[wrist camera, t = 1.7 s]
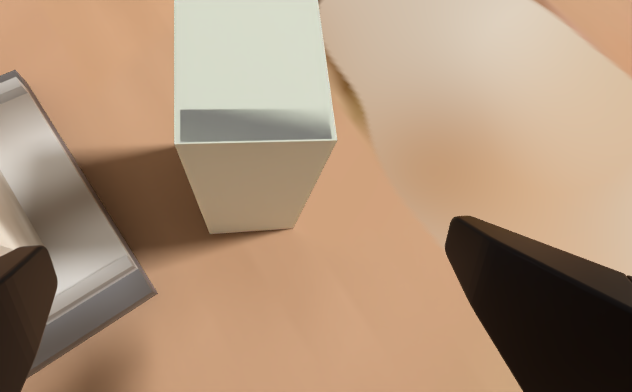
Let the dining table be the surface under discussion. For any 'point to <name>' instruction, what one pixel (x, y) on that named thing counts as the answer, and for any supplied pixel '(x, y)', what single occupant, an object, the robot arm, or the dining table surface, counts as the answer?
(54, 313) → the rail board
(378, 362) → the dining table surface
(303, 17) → the block
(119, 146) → the dining table surface
